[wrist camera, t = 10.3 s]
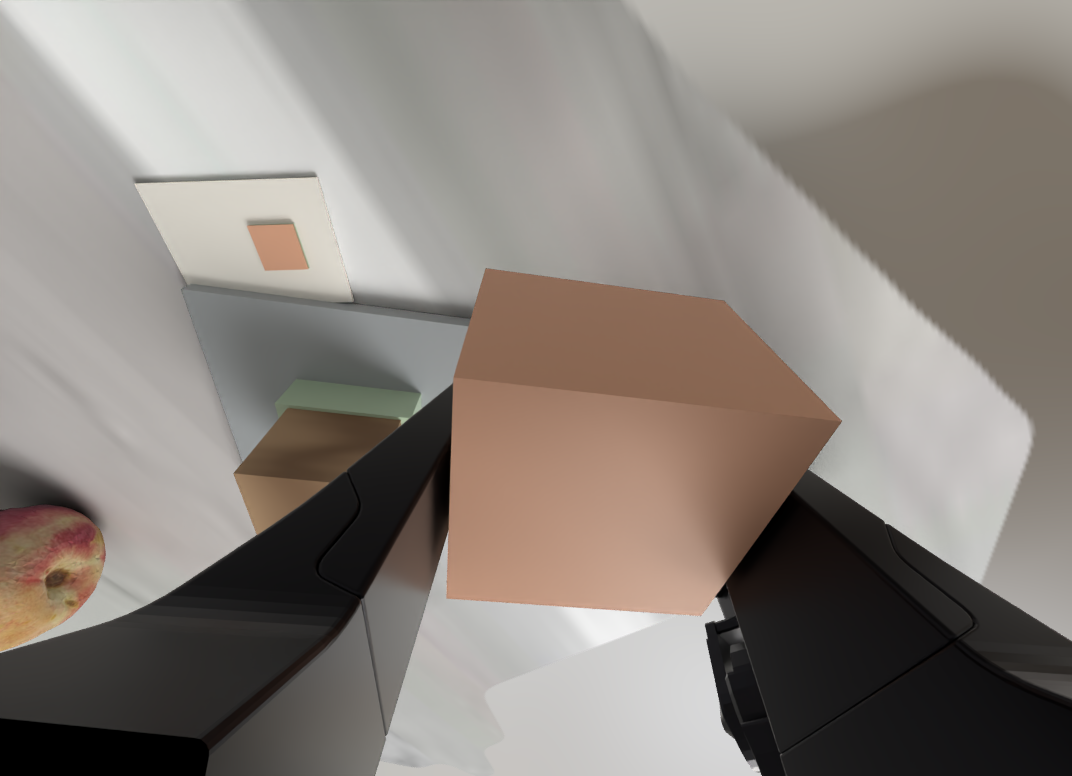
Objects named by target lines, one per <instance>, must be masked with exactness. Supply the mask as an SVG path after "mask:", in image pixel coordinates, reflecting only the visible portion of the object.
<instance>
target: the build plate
mask: <svg viewBox="0 0 1072 776" xmlns="http://www.w3.org/2000/svg"><path fill="white" fill-rule="evenodd" d="M181 291H182V294H183V296H184V299H185V302H186V305H187V308H188V311H189V313H190V316H191V319H192V322H193V325H194V327H195V330H196V333H197V336H198V339H199V341H200V344H201V347H202V350H203V353H204V355H205V358H206V361H207V364H208V367H209V369H210V372H211V375H212V378H213V381H214V383H215V386H216V389H217V392H218V395H219V397H220V400H221V403H222V406H223V409H224V411H225V414H226V417H227V420H228V423H229V425H230V428H231V431H232V434H233V437H234V439H235V442H236V445H237V448H238V451H239V453H240V456H241V459H242V462H243V461H244V460H245V459H246V458H247V456H248V455H249V454H250V453H251V452H252V450H253V449H254V448H255V447H256V446H257V444H258V443H259V442H260V441H261V439H262V438H263V437H264V436H265V435H266V433H267V432H268V431H269V430H270V429H271V427H272V426H273V425H274V424H275V423H276V421H277V420H278V419H279V418H280V416H281V415H282V414H283V413H284V412H285V410H286V409H287V408H294V409H303V410H312V411H321V412H330V413H340V414H349V415H358V416H367V417H376V418H386V419H395V420H401V425H402V424H403V423H404V422H405V421H407V420H408V419H409V418H410V417H412V416H413V415H414V414H415V413H417V412H418V411H419V410H420V409H422V408H423V407H424V406H425V405H426V404H428V403H429V402H430V401H431V400H433V399H434V398H435V397H436V396H438V395H439V394H440V393H441V392H442V391H444V390H445V389H446V388H447V387H449V386H450V385H451V384H452V383H453V377H454V374H455V370H456V367H457V363H458V360H459V357H460V353H461V350H462V347H463V343H464V340H465V337H466V333H467V330H468V326H469V323H470V320H471V319H467V318H460V317H452V316H444V315H437V314H429V313H422V312H414V311H407V310H399V309H391V308H384V307H376V306H369V305H361V304H353V303H346V302H337V303H334V302H326V301H319V300H311V299H303V298H296V297H288V296H281V295H273V294H265V293H258V292H250V291H243V290H235V289H227V288H220V287H212V286H205V285H197V284H190V285H188V286H186V287H184V288H182V289H181Z"/></svg>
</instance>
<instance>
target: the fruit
mask: <svg viewBox="0 0 1072 776" xmlns="http://www.w3.org/2000/svg"><path fill="white" fill-rule="evenodd" d="M105 552H106V551H105V544H104V540H103V536H102V533H101V531H100V529H99V528H98V527H97V526H96V525H95V524H94V523H93V522H92V521H91V520H90V519H89V518H87V517H86V516H84V515H83V514H81V513H79V512H76V511H74V510H73V509H70V508H66V507H61V506H54V505H48V504H43V505H36V506H29V507H24V508H9V509H6V510H0V651H3V650H6V649H9V648H12V647H15V646H18V645H20V644H23V643H25V642H27V641H29V640H31V639H33V638H35V637H37V636H39V635H40V634H42V633H44V632H46V631H48V630H50V629H52V628H54V627H56V626H58V625H60V624H61V623H63V622H64V621H66V620H67V619H68V618H70V617H71V616H72V615H73V614H74V613H75V612H76V611H77V610H78V609H79V608H80V607H81V606H82V605H83V604H84V603H85V602H86V600H87V599H88V598H89V597H90V595H91V594H92V593H93V591H94V590H95V588H96V585H97V582H98V580H99V579H100V576H101V573H102V570H103V566H104V562H105V556H106V553H105Z"/></svg>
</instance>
